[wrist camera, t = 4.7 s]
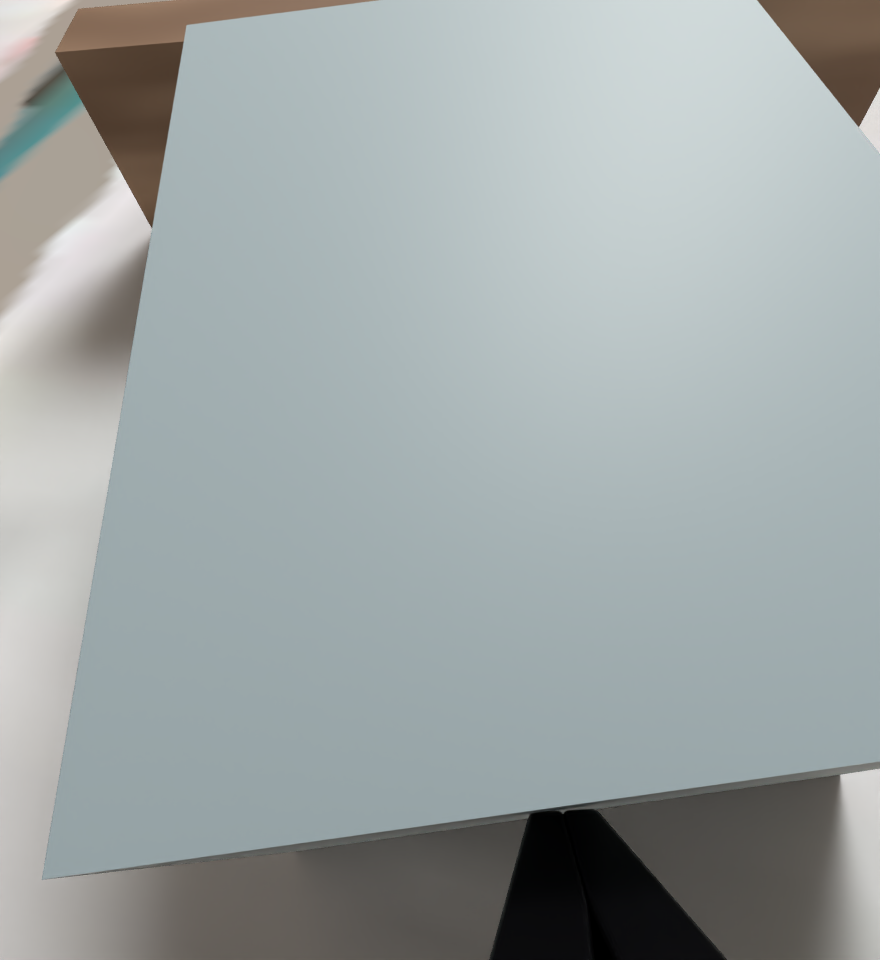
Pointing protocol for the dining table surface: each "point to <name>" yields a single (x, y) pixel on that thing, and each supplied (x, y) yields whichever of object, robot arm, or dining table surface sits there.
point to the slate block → (484, 434)
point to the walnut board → (162, 25)
